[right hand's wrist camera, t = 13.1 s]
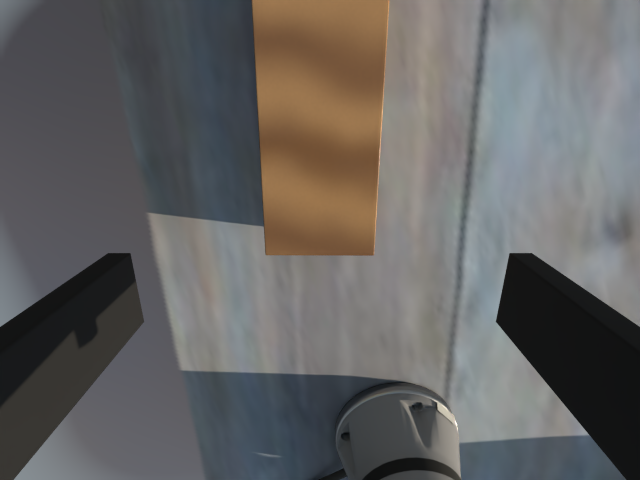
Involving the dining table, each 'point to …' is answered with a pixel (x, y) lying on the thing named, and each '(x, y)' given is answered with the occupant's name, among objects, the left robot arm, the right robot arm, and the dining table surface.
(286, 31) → the wide beam
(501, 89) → the dining table surface
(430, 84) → the dining table surface
